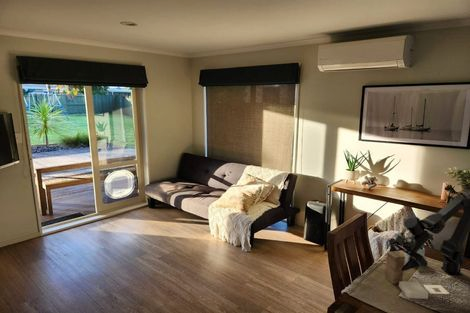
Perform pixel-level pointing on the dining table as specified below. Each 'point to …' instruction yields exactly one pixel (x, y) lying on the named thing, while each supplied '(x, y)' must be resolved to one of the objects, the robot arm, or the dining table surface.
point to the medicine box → (421, 252)
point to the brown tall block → (394, 267)
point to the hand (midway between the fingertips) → (394, 265)
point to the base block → (413, 289)
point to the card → (435, 289)
